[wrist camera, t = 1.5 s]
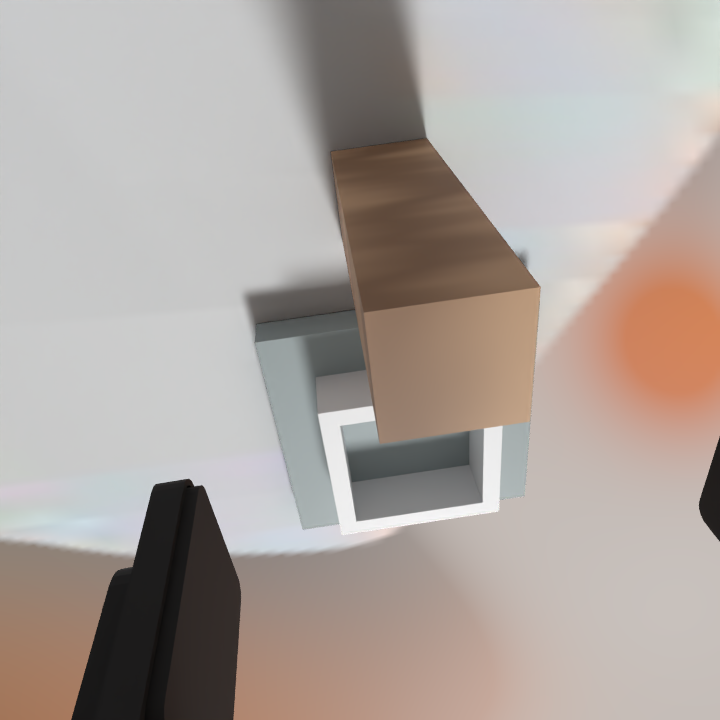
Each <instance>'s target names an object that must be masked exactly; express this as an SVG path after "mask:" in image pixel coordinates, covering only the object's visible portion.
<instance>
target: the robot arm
mask: <svg viewBox="0 0 720 720" xmlns="http://www.w3.org/2000/svg"><path fill="white" fill-rule="evenodd" d="M699 510H700V513H701V516H702V518H703V520H704V522H705V523H706V524H707V526H708V527H709V528H710V530H711V531H712V532H713V534H714V535H715V536H716V537H717V539H718V540H719V541H720V438H719V441H718V444H717V447H716V450H715V453H714V457H713V460H712V463H711V466H710V469H709V473H708V476H707V479H706V482H705V485H704V488H703V492H702V495H701V498H700V501H699ZM240 606H241V590H240V583H239V579H238V576H237V574H236V571H235V568H234V566H233V563H232V560H231V558H230V555H229V552H228V550H227V547H226V544H225V541H224V539H223V536H222V533H221V531H220V528H219V525H218V523H217V520H216V517H215V515H214V512H213V509H212V507H211V504H210V501H209V499H208V496H207V493H206V490H205V488H204V487H203V486H202V485H201V486H195V487H194V485H193V483H192V481H191V480H190V479H184V480H178V481H172V482H166V483H160V484H156V485H155V486H154V487H153V489H152V492H151V496H150V500H149V504H148V508H147V512H146V516H145V520H144V524H143V528H142V532H141V536H140V540H139V544H138V548H137V552H136V556H135V560H134V565H133V567H130V568H125V569H121V570H118V571H117V572H116V573H115V574H114V576H113V577H112V580H111V582H110V585H109V588H108V591H107V595H106V599H105V602H104V606H103V609H102V613H101V616H100V620H99V623H98V627H97V630H96V634H95V638H94V641H93V645H92V648H91V652H90V655H89V659H88V663H87V666H86V669H85V673H84V677H83V680H82V684H81V688H80V691H79V695H78V698H77V701H76V705H75V708H74V712H73V716H72V719H71V720H233V716H234V715H233V714H234V700H235V685H236V669H237V654H238V638H239V621H240Z"/></svg>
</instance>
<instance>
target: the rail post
mask: <svg viewBox="0 0 720 720" xmlns="http://www.w3.org/2000/svg"><path fill="white" fill-rule="evenodd" d="M331 158H332V165H333V173H334V180H335V188H336V195H337V202H338V210H339V217H340V225H341V232H342V239H343V246H344V251H345V256H346V262H347V267H348V273H349V278H350V284H351V289H352V295H353V300H354V306H355V311H356V317H357V322H358V328H359V333H360V339H361V344H362V350H363V355H364V361H365V366H366V371H367V377H368V382H369V388H370V393H371V399H372V404H373V410H374V415H375V421H376V426H377V432H378V437H379V443H380V444H383V443H390V442H397V441H403V440H410V439H417V438H424V437H430V436H437V435H444V434H450V433H457V432H464V431H471V430H477V429H484V428H491V427H498V426H504V425H511V424H518V423H524V422H530V416H531V404H532V391H533V378H534V365H535V352H536V340H537V327H538V314H539V301H540V288H541V287H540V286H539V284H538V283H537V282H536V280H535V279H534V278H533V276H532V275H531V274H530V273H529V271H528V270H527V269H526V267H525V266H524V265H523V263H522V262H521V261H520V259H519V258H518V257H517V256H516V254H515V253H514V252H513V250H512V249H511V248H510V246H509V245H508V244H507V242H506V241H505V240H504V239H503V237H502V236H501V235H500V233H499V232H498V231H497V229H496V228H495V227H494V225H493V224H492V223H491V222H490V220H489V219H488V218H487V216H486V215H485V214H484V212H483V211H482V210H481V208H480V207H479V206H478V205H477V203H476V202H475V201H474V199H473V198H472V197H471V195H470V194H469V193H468V191H467V190H466V189H465V188H464V186H463V185H462V184H461V182H460V181H459V180H458V178H457V177H456V176H455V174H454V173H453V172H452V171H451V169H450V168H449V167H448V165H447V164H446V163H445V161H444V160H443V159H442V157H441V156H440V155H439V154H438V152H437V151H436V150H435V148H434V147H433V146H432V144H431V143H430V142H429V140H428V139H427V138H424V139H417V140H410V141H403V142H395V143H388V144H381V145H374V146H367V147H360V148H352V149H345V150H338V151H331Z"/></svg>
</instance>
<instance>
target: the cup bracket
mask: <svg viewBox="0 0 720 720" xmlns="http://www.w3.org/2000/svg"><path fill="white" fill-rule="evenodd" d="M539 307H540V301H539ZM538 319H539V314H538ZM537 332H538V327H537ZM255 345H256V349H257V353H258V357H259V361H260V365H261V369H262V373H263V376H264V380H265V384H266V388H267V392H268V396H269V400H270V404H271V408H272V412H273V416H274V419H275V423H276V427H277V431H278V435H279V439H280V443H281V447H282V451H283V455H284V459H285V462H286V466H287V470H288V474H289V478H290V482H291V486H292V490H293V494H294V498H295V502H296V505H297V509H298V513H299V517H300V521H301V525H302V529H303V530H304V529H311V528H317V527H324V526H331V525H337V524H340V529H341V534H342V535H346V534H353V533H359V532H366V531H373V530H379V529H386V528H392V527H399V526H406V525H412V524H419V523H425V522H432V521H439V520H445V519H452V518H458V517H465V516H471V515H478V514H485V513H492V512H497V511H499V500H503V499H509V498H516V497H522V496H525V483H526V471H527V458H528V446H529V433H530V422H524V423H518V424H511V425H504V426H498V427H491V428H484V429H477V430H471V431H464V432H457V433H450V434H444V435H437V436H430V437H424V438H417V439H410V440H403V441H397V442H390V443H383V444H380V443H379V437H378V432H377V426H376V421H375V415H374V410H373V404H372V399H371V393H370V388H369V382H368V377H367V371H366V366H365V361H364V355H363V350H362V344H361V339H360V333H359V328H358V322H357V317H356V311H355V310H351V311H344V312H337V313H330V314H323V315H316V316H309V317H302V318H295V319H288V320H282V321H275V322H268V323H261V324H257V326H256V336H255ZM536 345H537V340H536ZM535 357H536V352H535ZM534 370H535V365H534ZM533 382H534V378H533ZM532 395H533V391H532ZM531 407H532V404H531ZM530 421H531V416H530Z"/></svg>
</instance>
